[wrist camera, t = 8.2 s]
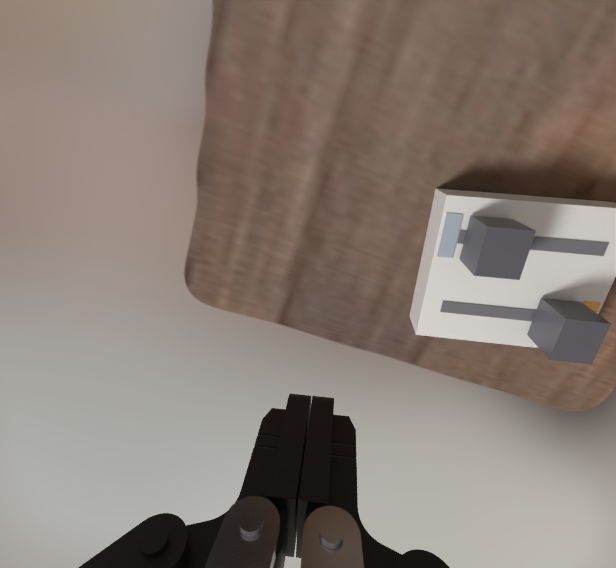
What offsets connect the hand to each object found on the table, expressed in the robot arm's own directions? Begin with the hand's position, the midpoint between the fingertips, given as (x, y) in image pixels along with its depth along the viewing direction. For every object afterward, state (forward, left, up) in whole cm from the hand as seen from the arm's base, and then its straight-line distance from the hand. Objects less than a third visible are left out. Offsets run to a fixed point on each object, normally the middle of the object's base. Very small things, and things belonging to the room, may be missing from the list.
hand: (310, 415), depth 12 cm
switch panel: (-10, +14, -26) cm, 31 cm away
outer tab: (-11, +19, -22) cm, 31 cm away
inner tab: (-10, +9, -22) cm, 26 cm away
